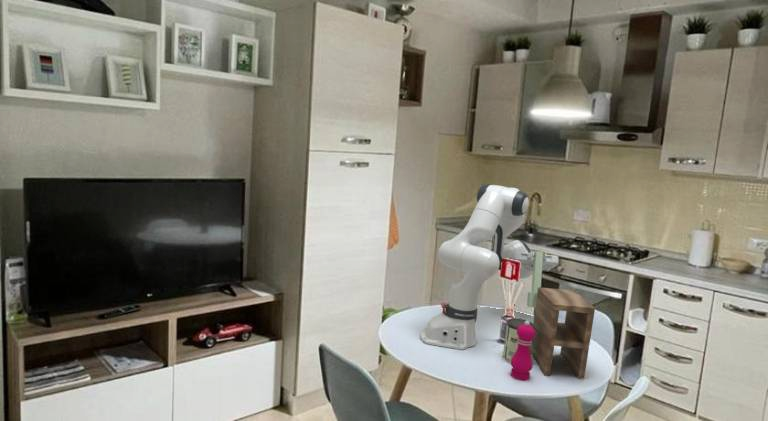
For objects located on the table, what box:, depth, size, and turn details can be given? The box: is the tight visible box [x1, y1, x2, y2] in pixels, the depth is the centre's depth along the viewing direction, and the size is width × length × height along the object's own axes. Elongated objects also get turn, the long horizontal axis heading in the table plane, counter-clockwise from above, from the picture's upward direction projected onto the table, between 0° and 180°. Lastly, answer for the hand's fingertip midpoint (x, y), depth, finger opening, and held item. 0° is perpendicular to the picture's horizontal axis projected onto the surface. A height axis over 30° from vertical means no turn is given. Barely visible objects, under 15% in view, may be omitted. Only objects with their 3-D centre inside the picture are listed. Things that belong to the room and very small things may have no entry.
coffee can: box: [502, 318, 535, 364], centre depth 191 cm, size 10×10×14 cm
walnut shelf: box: [531, 287, 596, 380], centre depth 188 cm, size 14×20×26 cm
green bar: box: [526, 250, 544, 308], centre depth 222 cm, size 6×24×3 cm
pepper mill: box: [510, 320, 535, 381], centre depth 177 cm, size 7×7×20 cm
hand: (539, 254), depth 221 cm, fingers closed on green bar, 3 cm apart
